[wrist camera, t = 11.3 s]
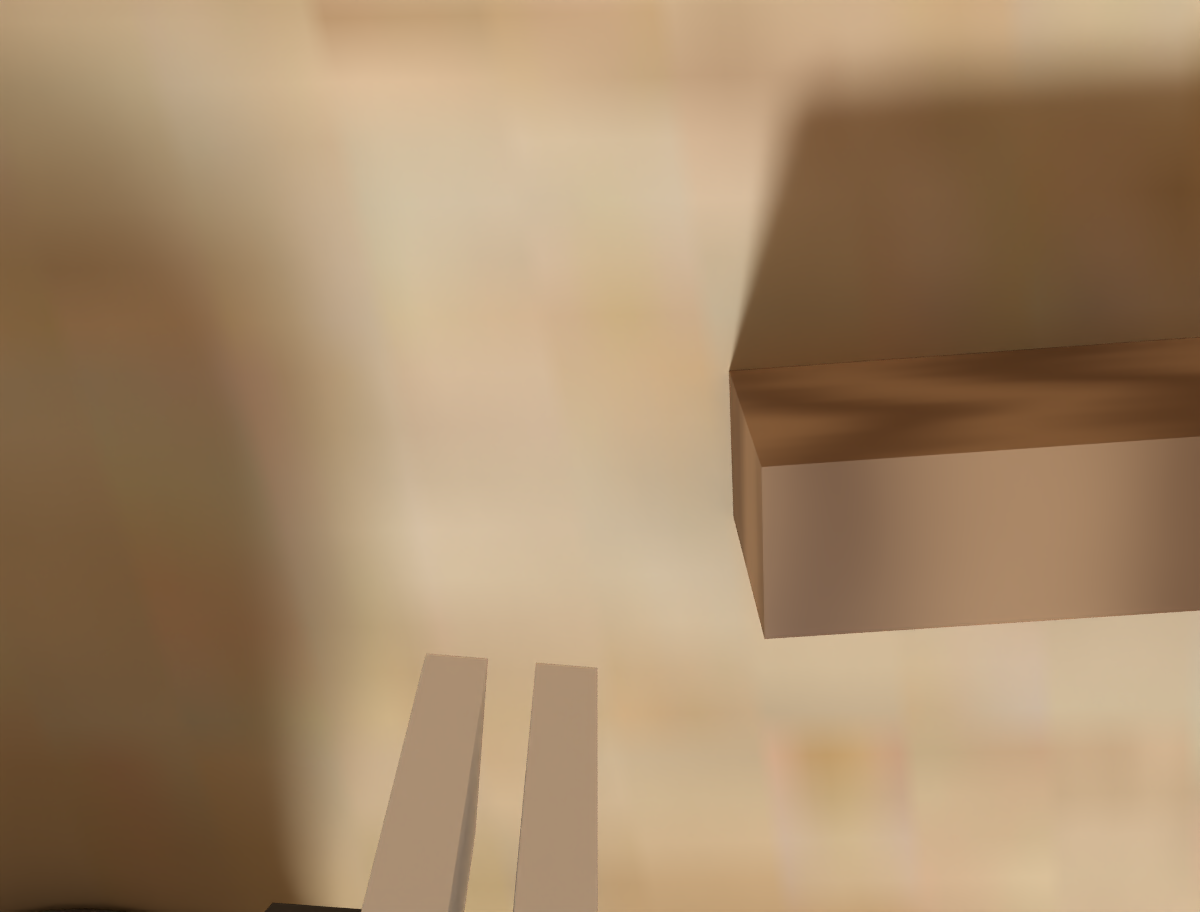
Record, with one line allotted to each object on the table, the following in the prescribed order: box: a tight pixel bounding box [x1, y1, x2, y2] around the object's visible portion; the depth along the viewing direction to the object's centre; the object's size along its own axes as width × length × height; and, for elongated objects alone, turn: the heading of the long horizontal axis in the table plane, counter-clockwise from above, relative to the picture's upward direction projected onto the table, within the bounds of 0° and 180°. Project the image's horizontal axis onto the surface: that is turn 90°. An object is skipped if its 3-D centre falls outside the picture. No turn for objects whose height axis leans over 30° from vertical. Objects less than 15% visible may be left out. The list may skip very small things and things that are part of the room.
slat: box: [729, 337, 1200, 639], centre depth 25 cm, size 18×4×6 cm, turn 94°
